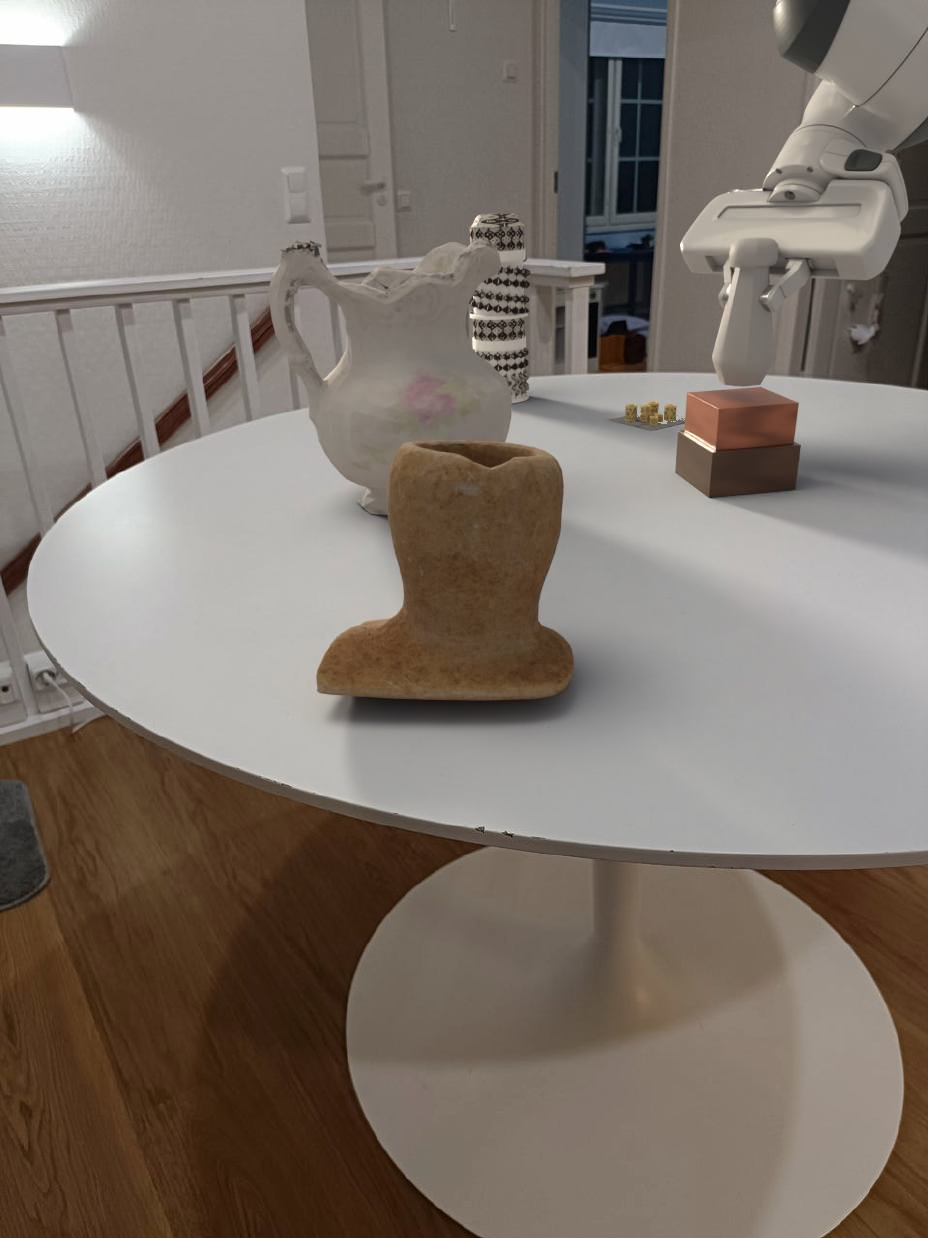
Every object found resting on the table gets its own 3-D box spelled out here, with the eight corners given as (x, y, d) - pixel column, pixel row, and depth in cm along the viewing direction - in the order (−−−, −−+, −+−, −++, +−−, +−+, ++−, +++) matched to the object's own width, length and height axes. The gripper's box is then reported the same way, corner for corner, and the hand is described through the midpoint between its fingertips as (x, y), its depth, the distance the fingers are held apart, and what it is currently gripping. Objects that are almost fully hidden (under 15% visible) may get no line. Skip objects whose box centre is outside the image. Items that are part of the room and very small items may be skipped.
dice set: (622, 419, 116) (623, 405, 115) (651, 413, 118) (651, 399, 117) (650, 426, 112) (650, 411, 111) (678, 420, 114) (679, 405, 113)
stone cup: (573, 632, 61) (576, 416, 54) (574, 726, 50) (578, 471, 44) (359, 630, 63) (337, 420, 56) (316, 720, 52) (283, 474, 46)
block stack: (754, 465, 95) (763, 385, 91) (795, 489, 87) (806, 403, 83) (675, 472, 94) (680, 391, 90) (708, 497, 86) (716, 410, 82)
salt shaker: (698, 383, 86) (709, 239, 81) (731, 374, 90) (744, 235, 84) (751, 390, 82) (766, 240, 77) (783, 380, 86) (800, 236, 80)
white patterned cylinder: (464, 394, 134) (457, 214, 123) (523, 389, 136) (521, 211, 125) (475, 407, 126) (469, 215, 115) (538, 401, 128) (537, 212, 117)
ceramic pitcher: (352, 563, 77) (333, 259, 65) (265, 494, 91) (236, 233, 79) (546, 511, 88) (561, 241, 75) (442, 457, 102) (440, 222, 89)
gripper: (708, 166, 89) (643, 278, 87) (914, 154, 75) (840, 287, 73) (729, 212, 93) (668, 320, 92) (926, 209, 79) (857, 336, 78)
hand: (746, 305), depth 83 cm, fingers closed on salt shaker, 3 cm apart
